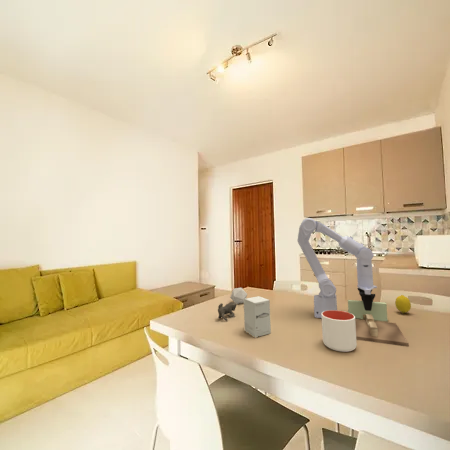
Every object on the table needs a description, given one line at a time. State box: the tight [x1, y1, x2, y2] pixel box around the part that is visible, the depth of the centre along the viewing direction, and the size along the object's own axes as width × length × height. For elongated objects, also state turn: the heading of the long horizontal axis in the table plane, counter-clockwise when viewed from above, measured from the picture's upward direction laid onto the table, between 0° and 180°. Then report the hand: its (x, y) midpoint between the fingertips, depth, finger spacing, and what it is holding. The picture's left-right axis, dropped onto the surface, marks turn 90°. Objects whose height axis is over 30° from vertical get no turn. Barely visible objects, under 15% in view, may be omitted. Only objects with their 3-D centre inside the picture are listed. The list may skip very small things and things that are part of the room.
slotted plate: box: [347, 299, 389, 322], centre depth 101 cm, size 14×2×7 cm, turn 65°
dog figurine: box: [217, 301, 237, 321], centre depth 109 cm, size 12×6×8 cm, turn 140°
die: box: [229, 287, 248, 305], centre depth 130 cm, size 8×9×10 cm
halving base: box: [355, 314, 410, 347], centre depth 88 cm, size 18×18×4 cm
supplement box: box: [243, 295, 272, 338], centre depth 91 cm, size 7×7×13 cm
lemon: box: [394, 294, 412, 314], centre depth 105 cm, size 6×6×8 cm
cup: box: [321, 309, 358, 353], centre depth 78 cm, size 10×10×10 cm
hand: (366, 307), depth 101 cm, fingers open, 7 cm apart
